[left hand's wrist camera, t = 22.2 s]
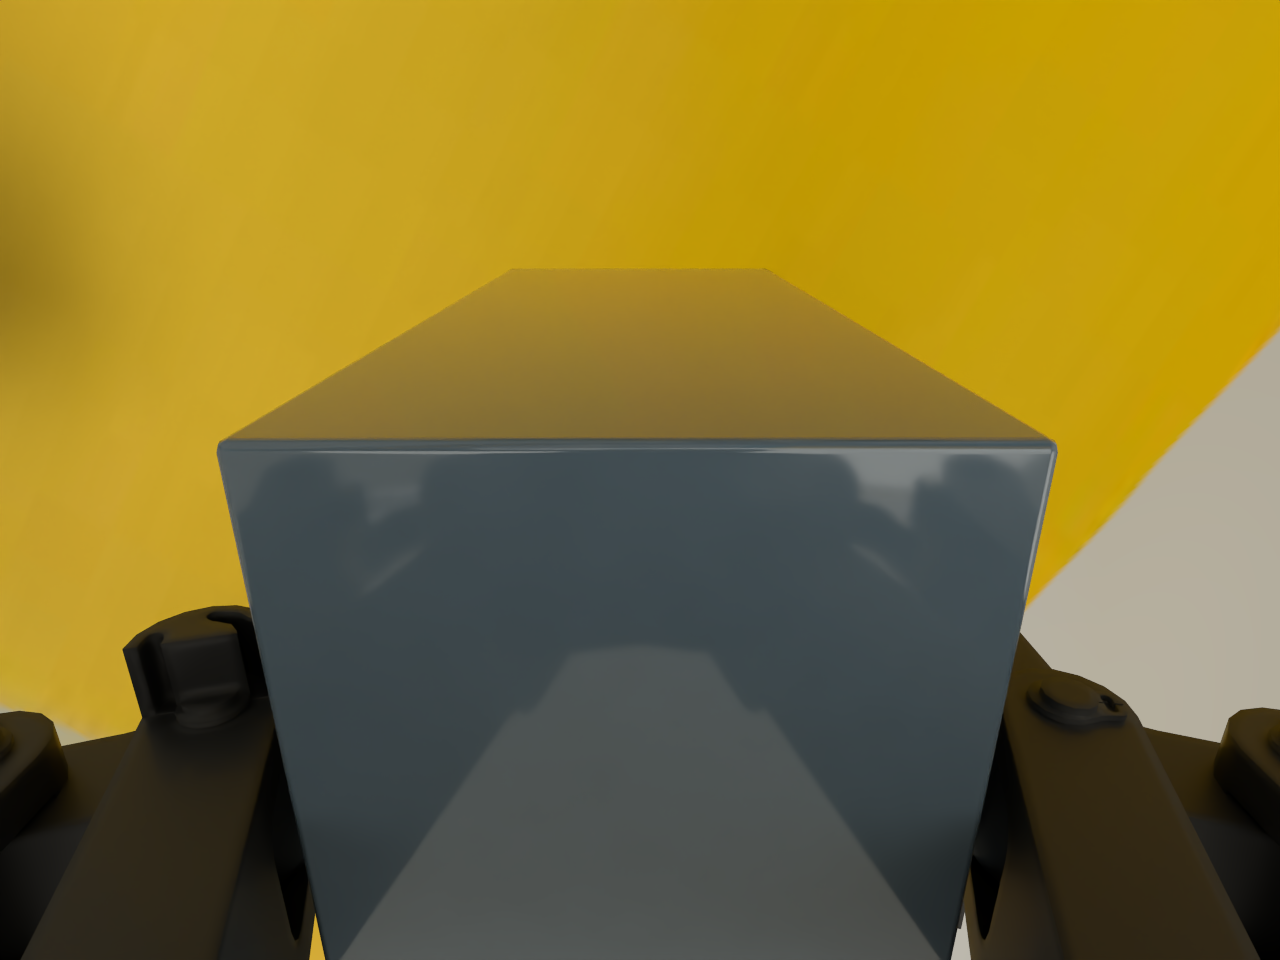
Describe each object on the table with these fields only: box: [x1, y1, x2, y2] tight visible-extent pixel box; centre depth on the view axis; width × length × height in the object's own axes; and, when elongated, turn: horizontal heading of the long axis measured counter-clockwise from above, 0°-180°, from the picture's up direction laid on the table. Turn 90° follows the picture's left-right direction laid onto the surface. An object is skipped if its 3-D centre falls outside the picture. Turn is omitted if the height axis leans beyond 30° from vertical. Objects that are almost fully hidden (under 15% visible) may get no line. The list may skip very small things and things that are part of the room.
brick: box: [217, 269, 1058, 960], centre depth 12 cm, size 6×9×12 cm, turn 0°
